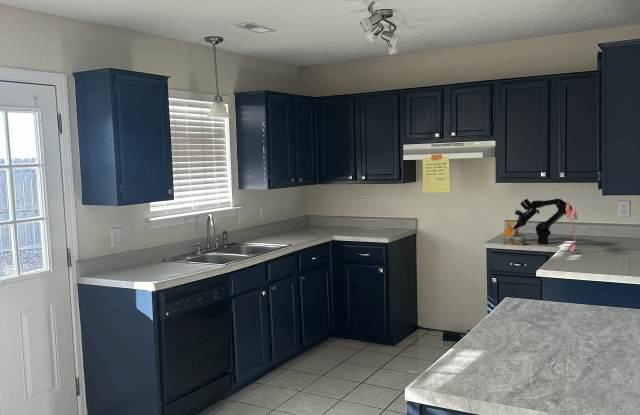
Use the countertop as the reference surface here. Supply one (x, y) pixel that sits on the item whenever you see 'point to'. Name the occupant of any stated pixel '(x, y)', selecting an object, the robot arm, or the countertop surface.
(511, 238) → the green slab with socket
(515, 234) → the wooden pepper mill
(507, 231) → the bracket
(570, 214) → the figurine
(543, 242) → the robot arm
